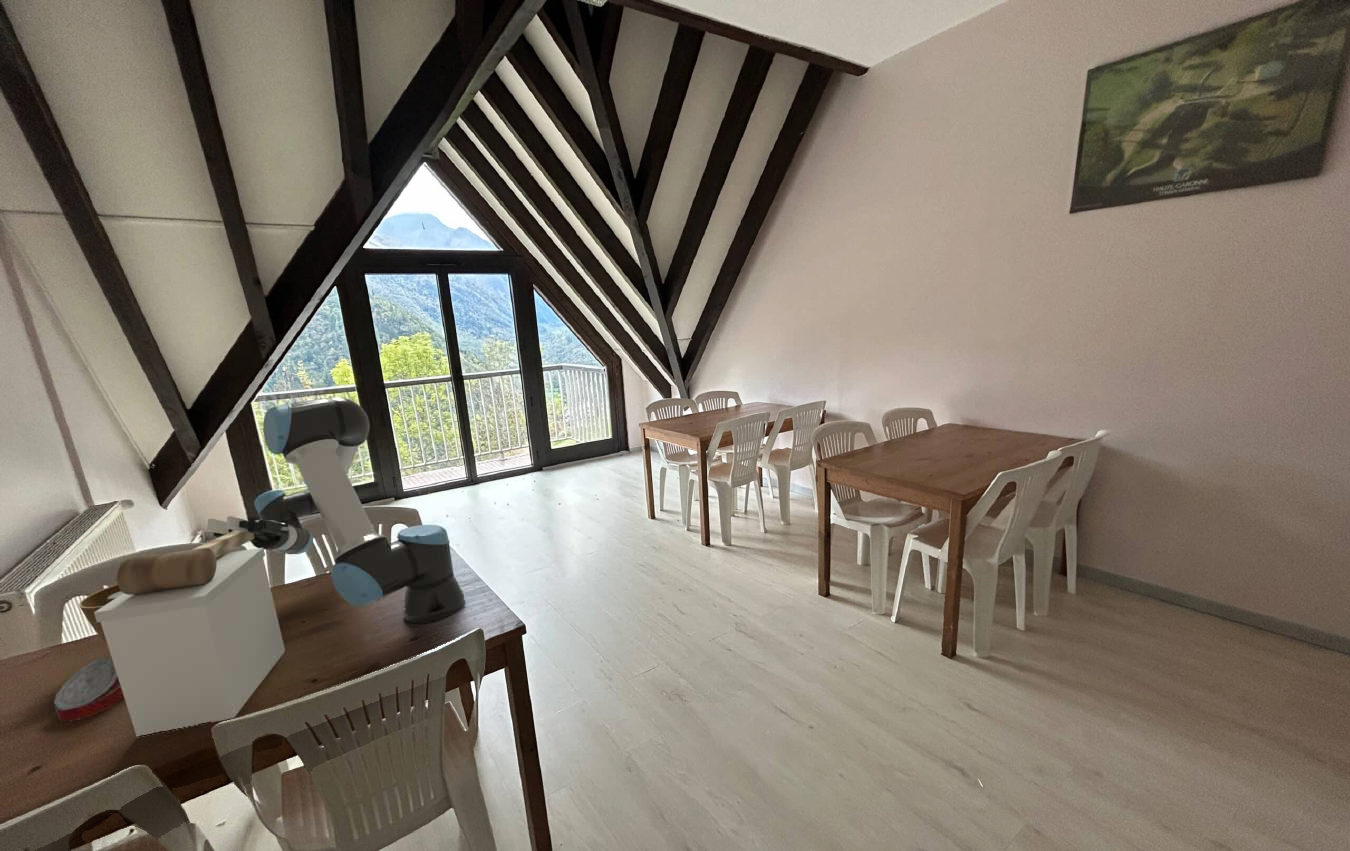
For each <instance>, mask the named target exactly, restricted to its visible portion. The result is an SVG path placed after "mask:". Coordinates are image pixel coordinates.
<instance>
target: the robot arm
mask: <svg viewBox="0 0 1350 851" xmlns="http://www.w3.org/2000/svg"><path fill="white" fill-rule="evenodd" d="M369 420H370V419H369V416H368V415H367V413H366V411H365V410H364V408H362V406H361V405H359V403H357V402H355V401H353V400H352V399H348V398H346V397H340V396H331V397H326V398H319V399H313V400H304V401H299V402H291V403H290V402H286V403H283V404H281V405H280V404H279V405H274V406H271V407H269V409H268V410H267V411H266V412H265V414H264V417H263V423H262V427H263V428H262V430H263V439H264V441H265V445H266V447H267V449H268V451H269V452H270V453H271V454H274V455H281V454H282V456H283V458H284V460H285V461H286V463H289V464H292V465H294V466H295V465H296V467H297V469H298V471H299V474H300V475H301V477H302V479H303V481H304V483H305V486H306V488H307V489H305V490H300V491H298V492H297V491H296V492H294V493H289V494H286V493H285V492H284V490H282V489H271V490H268V491H266V492H264V493H262V494H260V495H259V496H257V497H256V499H255V500H254V506H255V509H256V511H257V513H258V516H259V517H260V520H258V521H256V518H255V517H248V520H247V519H243V518H240V517H235V516H232V515H231V516H229V515H228V516H227V517H226V521H225V520H220V519H215V518H207V526H206V527H207V528H206V531H207V532H211V533H213V535H212V536H213V537H216V538H219V537H221V536H223V535H225V534H228V533H230V532H232V531H234V530H236V531H241V532H247V529H248V532H251V533H253V534H254V539H253V540H251V541H249V542H251V544H252V546H254V547H255V548H256V549H257V548H264V551H265V550H266V551H272V552H273V551H274V552H275V553H276V554H280V553H282V554H286V555H301V554H303V553H305V552H307V551H308V550H309V549H310V548H311V547H312V545H313V543H314V536H313V534H312V532H310V531H309V530H307V529H305V528H304V527H303V525H302V523H301V521H300V520H299V518H303V517H306V516H308V515H312V514H316V513H318V512H319V514H320V517H321V518H322V520H323V523H324V524H325V527H326V528H327V531H328V532H329V534H330V537H331V539H332V541H333V543H334V545H335V547H336V550H337V552H336V554H335V556H334V558H333V560H334V563H335V564H334V566H333V567H332V568H331V572H330V576H331V579H332V583H333V585H334V588H335V590H336V591H337V593H338V594H339V596H340V597H341V598H343V600H344V601H345V602H347V603H348V604H350V605H352V606H354V607H359V608H360V607H365V606H368V605H370V604H372V603H375V602H379V601H380V600H381V599H382V598H385V597H388V596H389V595H392V594H394V593H395V592H397V591H399V590H401V589H403V588H405V587H406V590H405V596H404V603H403V606H402V613H403V618H404V619H405V621H407V622H409V623H413V624H429V623H433V622H438V621H440V620H444V619H446V618H448V617H450V616H453V614H455V613H457V612H458V611H459V610H460V609H461V608H462V607H463V606H464V604H465V595H464V590H463V589H462V588H461V587H460V585H459V582H458V580H457V579H456V577H455V573H454V567H453V561H452V554H451V549H450V539H449V536H448V532H447V530H446V528H445V527H443V526H441V525H437V524H420V525H414V526H413V525H412V526H409V527H406V528H402V529H401V530H399V532H398V533H397V536H396V538H397V540H395V541H393V542H389V541H388V539H387V537H386V535H383V534H380V533H377V532H376V531H375V528H374V526H373V524H372V523H371V520H370V519H369V516H368V514H367V512H366V511H365V508H364V506H363V504H362V502H361V501H360V498H359V496H358V494H357V492H356V490H355V488H354V487H353V484H352V482H351V480H350V477H349V476H348V474H349V472H350V469H351V466H352V463H353V461H354V458H355V457H356V454H357V451H358V449H359V447H360V446H361V445H362V444H364V443H366V440H367V439H368V436H369V432H370V421H369Z"/></svg>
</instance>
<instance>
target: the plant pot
mask: <svg viewBox="0 0 1350 851" xmlns="http://www.w3.org/2000/svg"><path fill="white" fill-rule="evenodd" d="M117 592H121V590H120V589H119V587H118V583H117V584H114V585H111V586H109V587H106V588H103V589H100V590H98V591H96V592H94V593H92V594H90V595H88V596H87V597H85V598H84V599H82V600H81V601H80V602H79V603H78V605H79V607H80V609H81V611H82V614H83V615H84V616H85V618H86V619H87V621H88V622H89V624H90V626H91V627H92V629H94V631H95V632H96V634H97V635H98V636H99V637H100V639H101V640H102V641H103V642H105V644H106V645H107V646H108V644H107V641H106V638H105V635H104V632H103V628H102V625H101V622H97V621H96V618H95V614H94V612H96V611H97V610H99V609H100V608H102V607H103V606H105V605H106V604H108V599H107V598H108V597H109V596H111V595H112V594H115V593H117Z"/></svg>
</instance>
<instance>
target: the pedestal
mask: <svg viewBox="0 0 1350 851" xmlns="http://www.w3.org/2000/svg"><path fill="white" fill-rule="evenodd" d="M265 556H266V553H265V549H264V548H257V547H256V548H252V549H251V548H250V549H243V550H235V551H229V552H227V553H225V554H223V555H221V556H219V557H217V558H216V563H217V566H216V572H215V575H214V577H213V578H212V580H211V581H210V582H208V583H206V584H200V585H193V586H186V587H180V588H173V589H166V590H159V591H153V592H146V593H139V594H132V595H127V594H125V593H123V594H122V595H120V596H119V597H117V598H116V599H114V600H112V601H111V602H109V603H108V604H106V605H105V606H103V607H102V608H100V609H99V610H97V611H96V612H94V614H95V618H96V621H97V622H101V625H102V628H103V632H104V635H105V638H106V641H107V644H108V645H107V644H106V645H107V647H108V650H109V653H110V658H112V660H113V663H114V666H115V669H116V673H117V676H118V679H119V682H120V685H121V688H122V692H123V695H124V697H123V699H124V701H125V703H126V707H127V711H128V713H129V717H130V720H131V723H132V725H133V726H132V727H133V729H134V733H135V735H136V737H137V736H140V735H147V734H151V733H154V732H159V731H167V730H171V729H176V730H178V729H177V728H181V729H184V728H183V727H186V728H189V727H188V726H191V727H195V726H194V725H196V726H199V725H198V724H201V723H206V722H210V721H211V723H215V722H221V721H226V720H230V719H234V718H236V716H237V714H239V712H240V711H241V710H242V709H243V707H244V705H245V704H246V703H247V702H248V700H249V699H250V697H251V696H253V694H254V693H255V691H256V690H257V688H258V687H259V686H260V685H261V684H262V682H263V681H264V679H265V678H267V675H268V674H269V673H270V672H271V670H272V669H273V668H274V666H276V664H277V663H278V661H279V660H280V659H281V658H282V656H283V655H284V653H285V652H286V648H285V644H284V640H283V637H282V632H281V628H280V623H279V620H278V615H277V612H276V611H277V610H276V606H275V602H274V597H273V594H272V589H271V585H270V581H269V576H268V572H267V568H266V564H265V559H264V557H265ZM206 724H207V723H206ZM201 725H202V724H201ZM167 732H168V731H167ZM147 736H148V735H147Z"/></svg>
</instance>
